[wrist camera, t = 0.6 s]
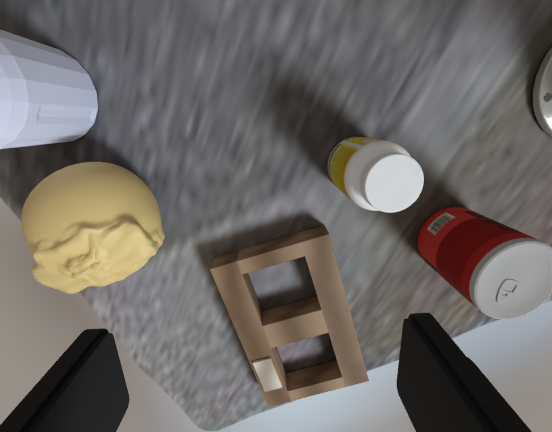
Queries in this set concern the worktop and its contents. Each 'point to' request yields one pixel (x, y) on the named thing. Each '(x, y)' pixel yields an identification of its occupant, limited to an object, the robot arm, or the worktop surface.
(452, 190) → the worktop surface
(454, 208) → the canned food
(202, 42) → the worktop surface
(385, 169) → the pill bottle
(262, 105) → the worktop surface
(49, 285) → the sculpture
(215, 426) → the worktop surface
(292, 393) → the socket rack
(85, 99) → the soap bottle
